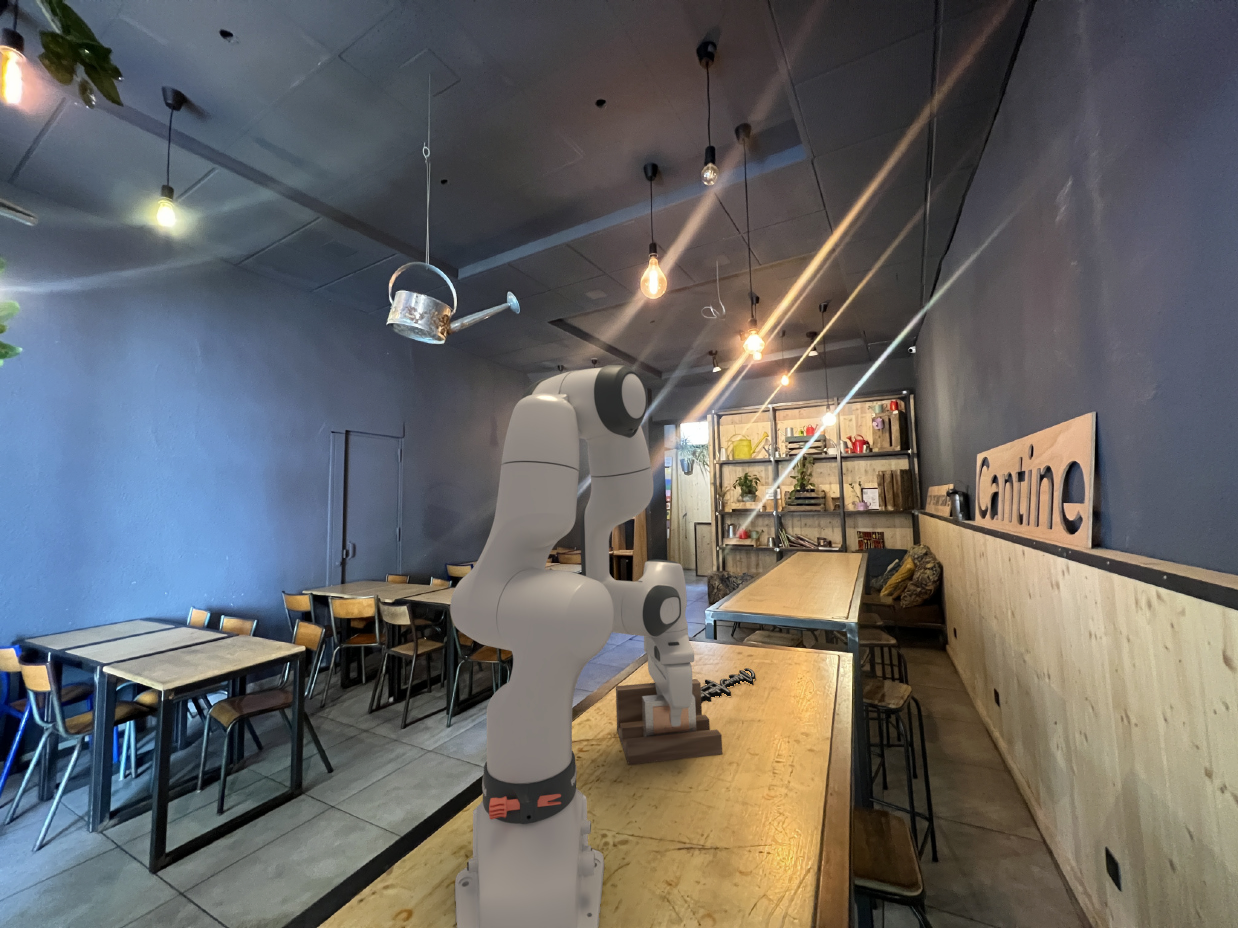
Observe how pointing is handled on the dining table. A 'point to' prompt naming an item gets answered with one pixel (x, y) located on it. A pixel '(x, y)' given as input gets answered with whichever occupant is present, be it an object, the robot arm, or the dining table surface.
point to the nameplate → (725, 685)
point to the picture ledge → (663, 745)
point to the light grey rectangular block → (665, 717)
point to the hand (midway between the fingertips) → (668, 714)
